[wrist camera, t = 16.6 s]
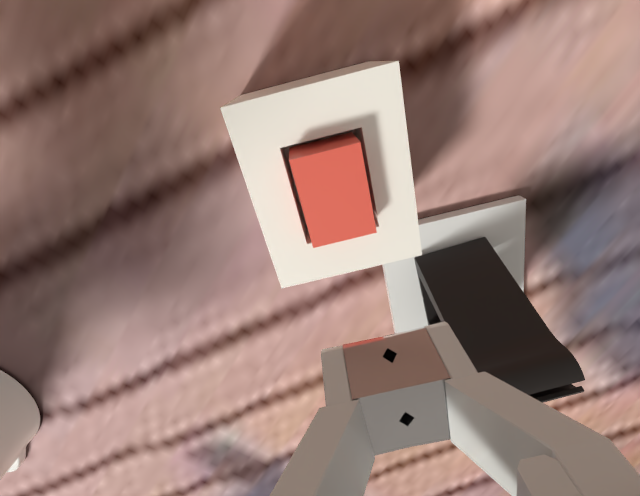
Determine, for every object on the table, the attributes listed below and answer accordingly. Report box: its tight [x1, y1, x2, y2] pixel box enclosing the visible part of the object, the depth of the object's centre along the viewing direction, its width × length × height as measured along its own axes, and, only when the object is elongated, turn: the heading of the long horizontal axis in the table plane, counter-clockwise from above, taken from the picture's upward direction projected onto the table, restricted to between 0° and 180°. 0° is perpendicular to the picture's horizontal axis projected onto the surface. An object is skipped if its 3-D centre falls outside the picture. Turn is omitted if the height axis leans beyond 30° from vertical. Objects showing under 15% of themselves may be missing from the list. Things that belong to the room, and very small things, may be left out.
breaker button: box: [289, 132, 377, 248], centre depth 20 cm, size 4×5×3 cm
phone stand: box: [414, 237, 585, 403], centre depth 27 cm, size 9×6×12 cm, turn 16°
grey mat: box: [382, 195, 526, 334], centre depth 33 cm, size 12×14×1 cm
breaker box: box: [220, 61, 422, 288], centre depth 24 cm, size 9×11×8 cm
